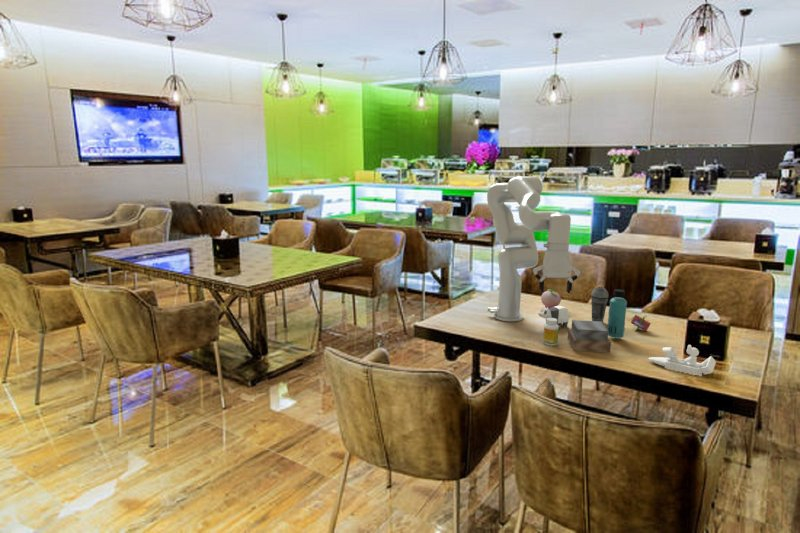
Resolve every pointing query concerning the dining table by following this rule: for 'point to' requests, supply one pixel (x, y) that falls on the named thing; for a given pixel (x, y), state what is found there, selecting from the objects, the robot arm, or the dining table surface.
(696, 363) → the toy boat
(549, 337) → the supplement bottle
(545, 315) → the giant panda
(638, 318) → the geometric puzzle
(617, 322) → the beverage bottle
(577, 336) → the mottled stone block
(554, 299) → the decorative fruit
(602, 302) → the beverage cup
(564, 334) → the dining table surface
